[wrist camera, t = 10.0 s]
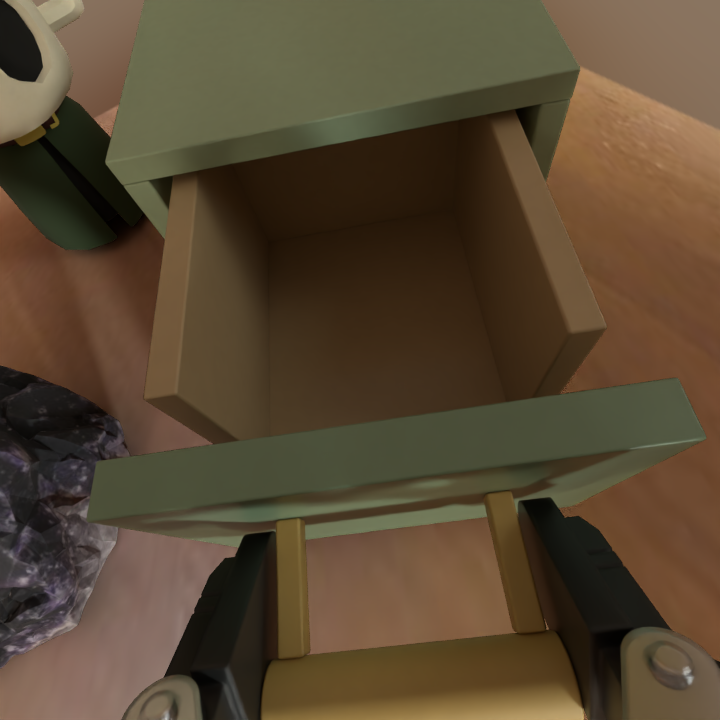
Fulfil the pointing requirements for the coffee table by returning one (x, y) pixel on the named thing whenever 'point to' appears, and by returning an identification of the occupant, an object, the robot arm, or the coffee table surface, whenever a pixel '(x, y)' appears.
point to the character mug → (53, 133)
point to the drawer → (385, 394)
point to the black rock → (48, 507)
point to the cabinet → (325, 80)
